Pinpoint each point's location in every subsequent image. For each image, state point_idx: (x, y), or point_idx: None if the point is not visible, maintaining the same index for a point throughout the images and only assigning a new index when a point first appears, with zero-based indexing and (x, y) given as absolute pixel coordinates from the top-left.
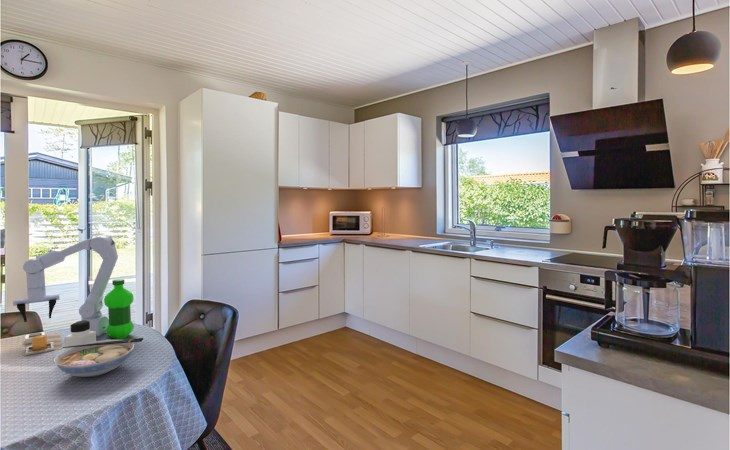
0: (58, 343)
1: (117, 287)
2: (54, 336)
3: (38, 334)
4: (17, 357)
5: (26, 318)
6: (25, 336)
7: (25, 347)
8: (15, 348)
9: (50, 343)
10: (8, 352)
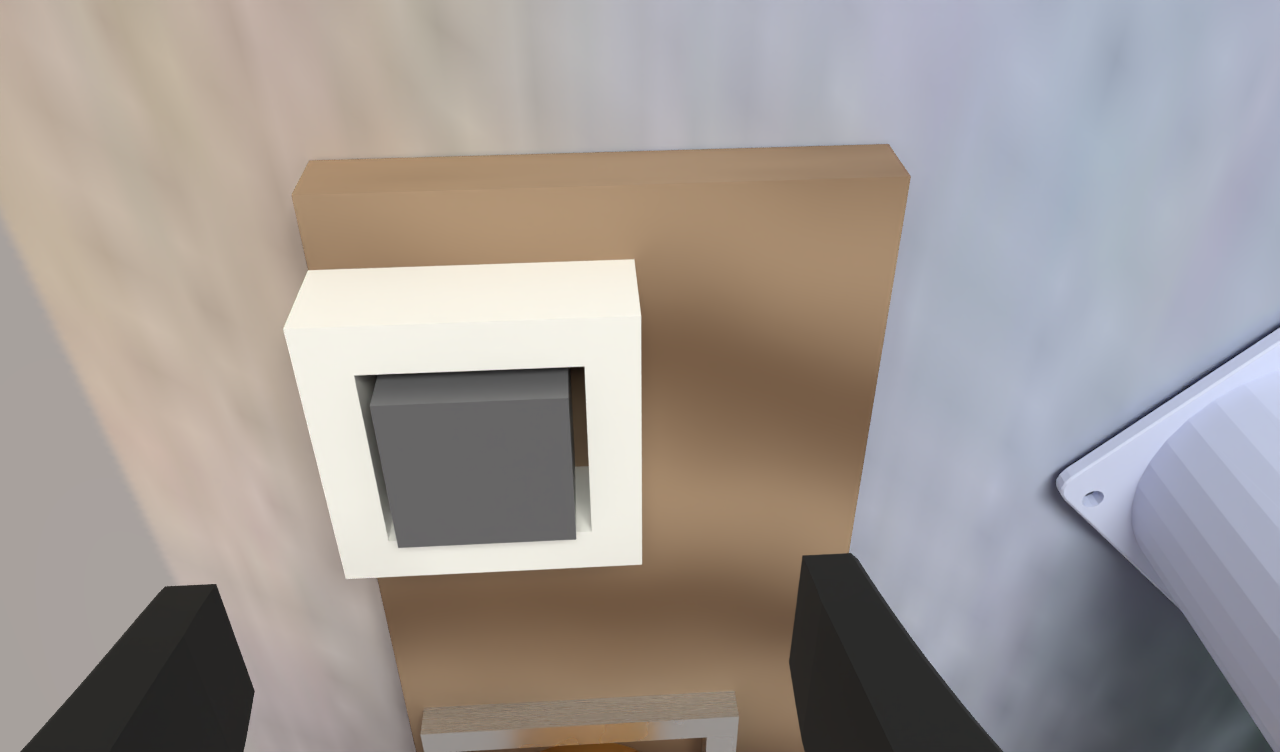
0: (793, 701)
1: None
2: (786, 365)
3: (541, 524)
4: (361, 742)
5: (213, 740)
6: (309, 432)
7: (401, 654)
8: (221, 415)
9: (704, 734)
10: (180, 537)
